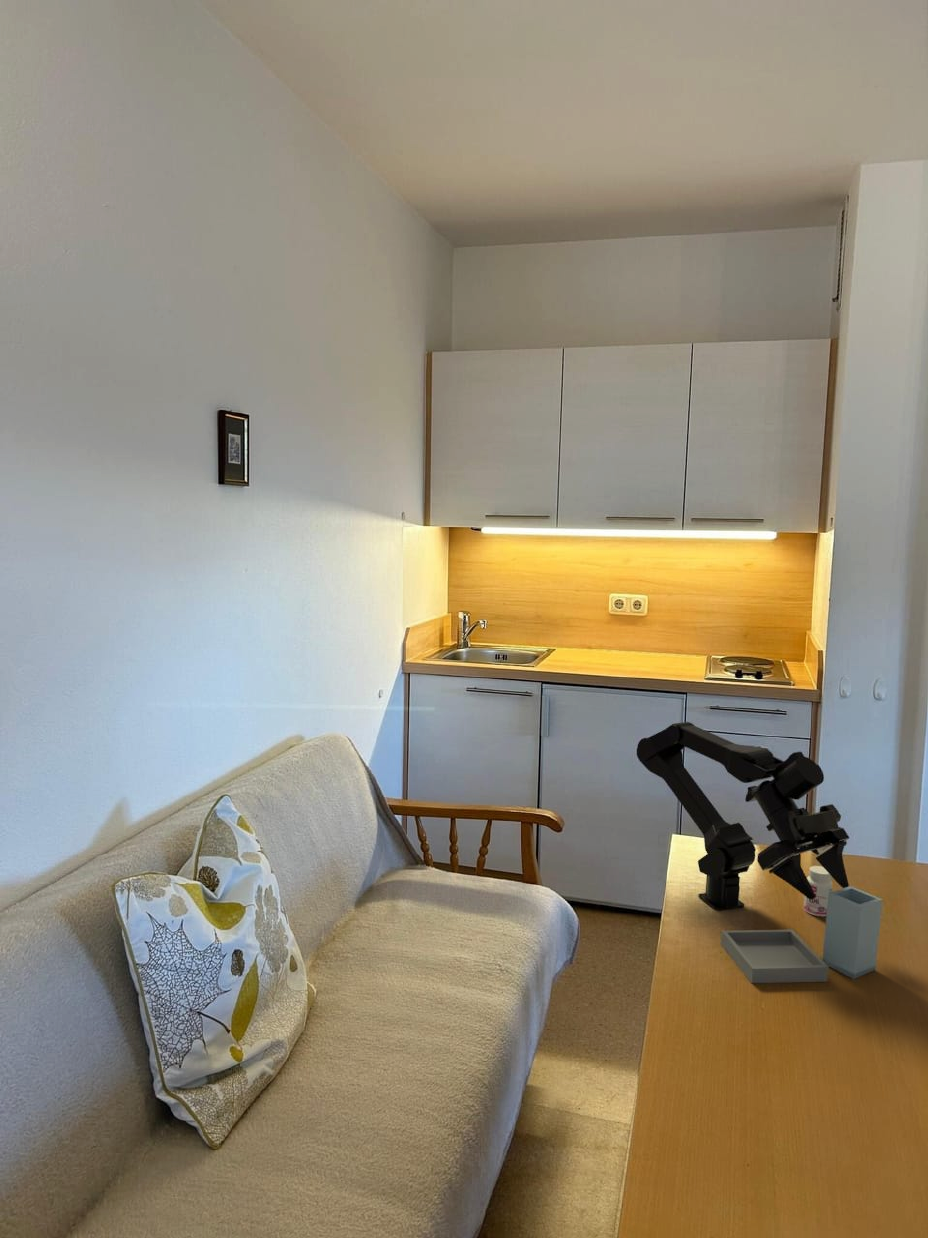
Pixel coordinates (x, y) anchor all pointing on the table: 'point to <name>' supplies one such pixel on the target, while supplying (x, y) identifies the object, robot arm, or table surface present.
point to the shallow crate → (774, 956)
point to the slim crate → (852, 931)
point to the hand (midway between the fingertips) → (830, 893)
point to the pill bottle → (818, 891)
